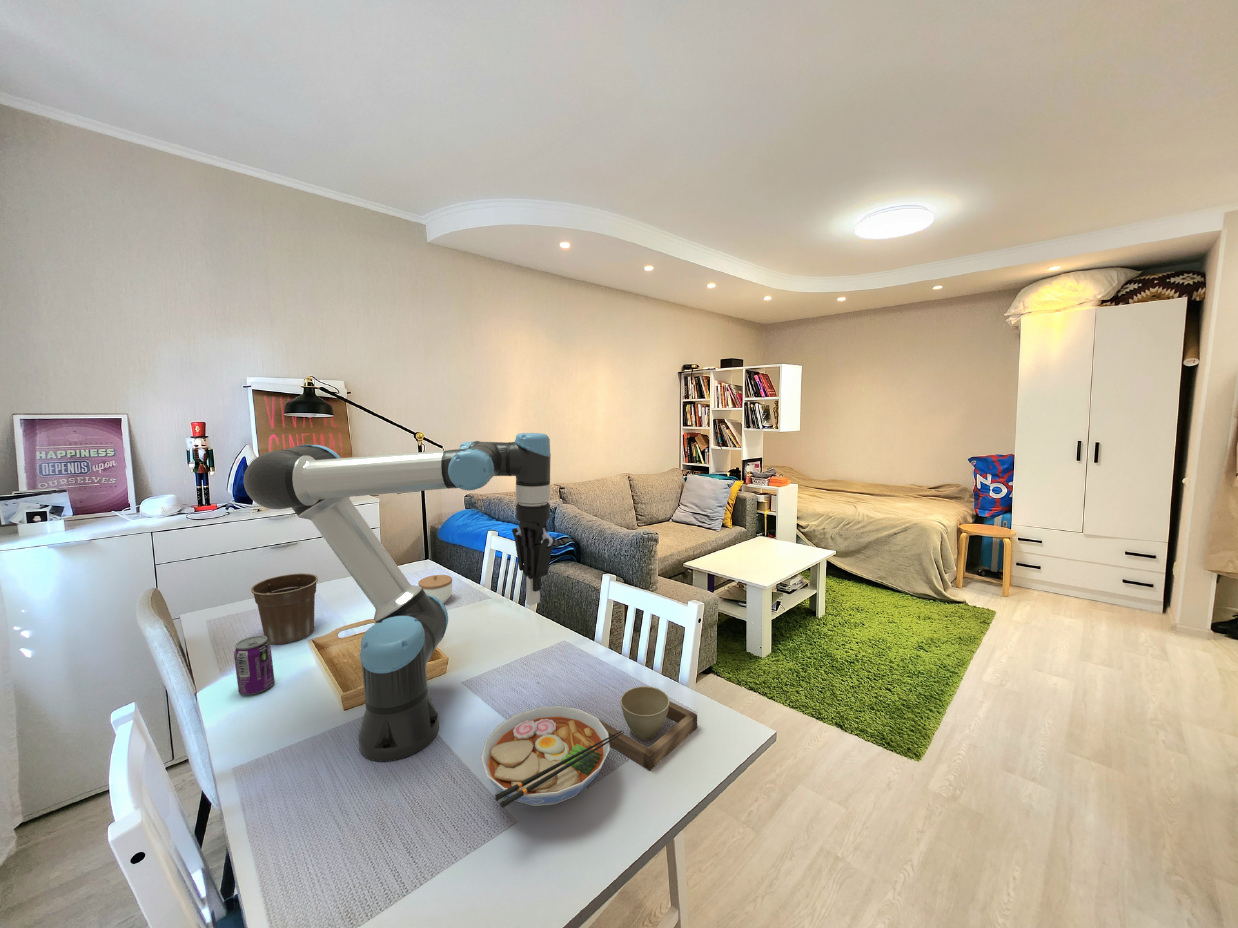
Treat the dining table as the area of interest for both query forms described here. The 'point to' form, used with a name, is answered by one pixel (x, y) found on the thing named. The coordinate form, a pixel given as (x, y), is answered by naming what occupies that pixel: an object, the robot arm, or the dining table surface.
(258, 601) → the plant pot
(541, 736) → the ramen bowl
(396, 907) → the dining table surface
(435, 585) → the lidded jar
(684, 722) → the walnut bay
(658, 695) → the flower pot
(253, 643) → the beverage can
